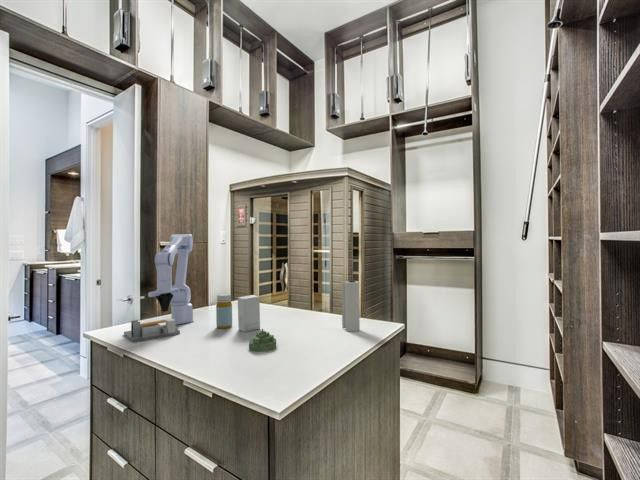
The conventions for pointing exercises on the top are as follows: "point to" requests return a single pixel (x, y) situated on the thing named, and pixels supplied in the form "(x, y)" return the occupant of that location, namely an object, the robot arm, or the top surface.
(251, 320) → the skincare box
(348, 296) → the tall grey block
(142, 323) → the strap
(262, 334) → the decorative artifact
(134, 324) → the grey workpiece holding fixture
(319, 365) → the top surface
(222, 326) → the bottle
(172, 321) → the clip
